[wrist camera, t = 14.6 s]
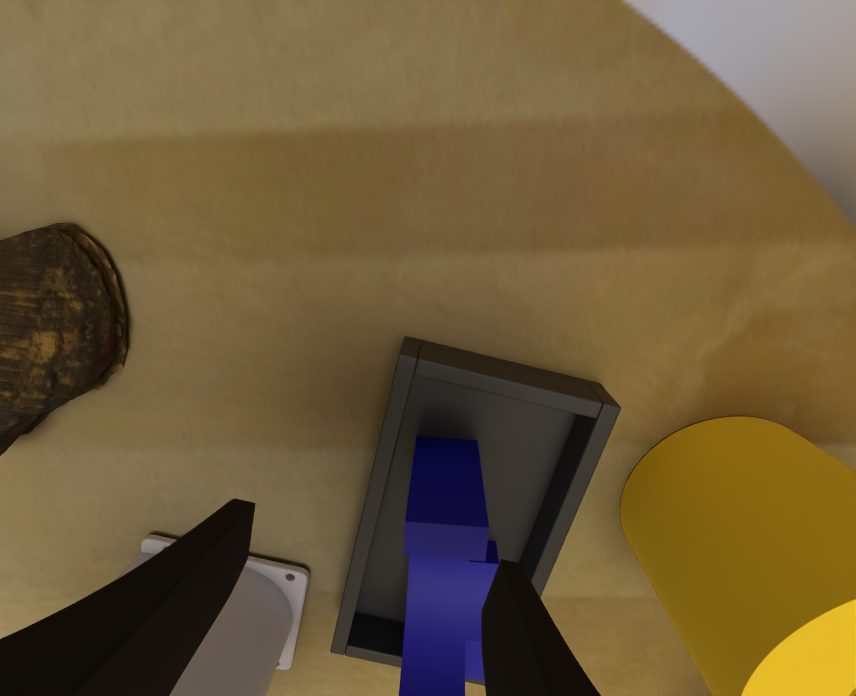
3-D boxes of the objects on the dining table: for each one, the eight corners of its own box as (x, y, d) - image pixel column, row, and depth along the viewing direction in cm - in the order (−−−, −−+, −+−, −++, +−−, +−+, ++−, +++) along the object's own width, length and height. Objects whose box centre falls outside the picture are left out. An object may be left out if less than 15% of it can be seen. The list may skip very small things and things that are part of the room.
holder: (341, 609, 25) (329, 653, 23) (404, 336, 20) (399, 353, 17) (496, 643, 26) (501, 690, 23) (600, 383, 20) (622, 407, 18)
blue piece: (485, 625, 24) (497, 752, 19) (407, 619, 24) (395, 743, 19) (508, 442, 21) (531, 530, 15) (416, 436, 21) (404, 521, 15)
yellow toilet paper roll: (864, 448, 21) (1188, 632, 12) (757, 597, 24) (948, 834, 15) (673, 392, 20) (856, 538, 11) (590, 552, 23) (680, 767, 14)
